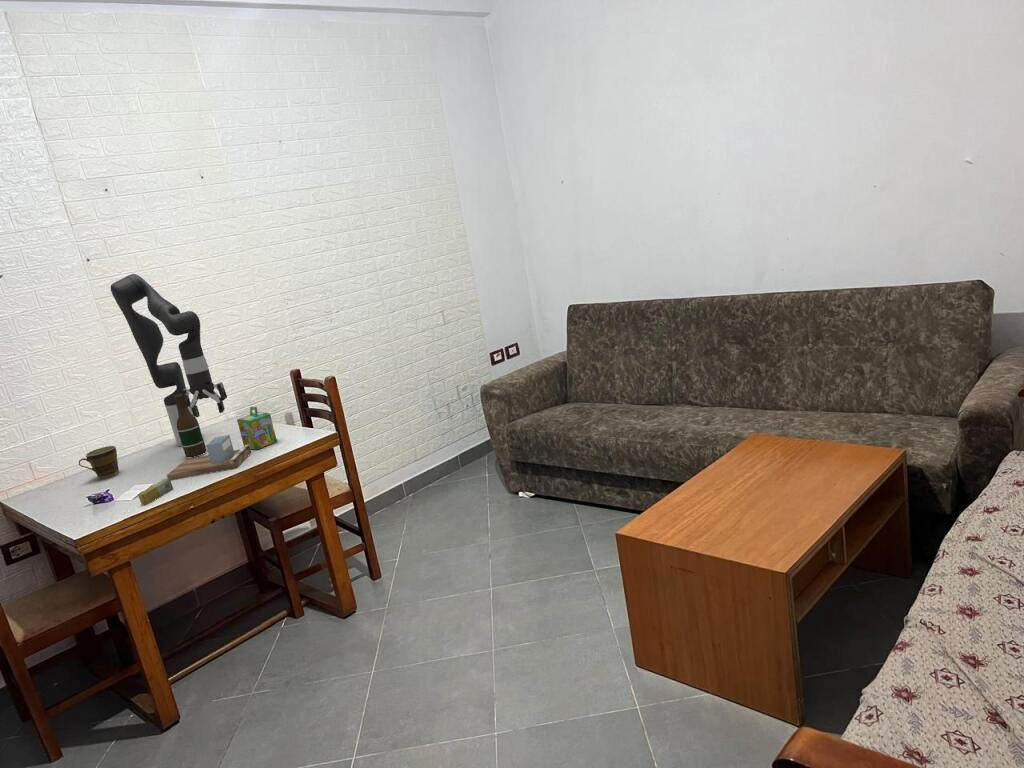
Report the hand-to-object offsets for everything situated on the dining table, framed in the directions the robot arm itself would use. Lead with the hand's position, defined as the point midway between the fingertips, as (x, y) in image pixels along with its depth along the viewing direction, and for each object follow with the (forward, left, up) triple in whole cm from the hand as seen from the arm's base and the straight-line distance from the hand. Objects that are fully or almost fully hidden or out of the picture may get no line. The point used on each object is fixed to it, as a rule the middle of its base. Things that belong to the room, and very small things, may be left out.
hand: (209, 414), depth 255 cm
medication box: (+25, -13, -19) cm, 33 cm away
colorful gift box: (-15, +9, -19) cm, 26 cm away
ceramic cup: (-9, -48, -19) cm, 53 cm away
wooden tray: (+1, -4, -18) cm, 19 cm away
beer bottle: (-18, -17, -19) cm, 31 cm away
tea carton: (+1, +1, -16) cm, 16 cm away
